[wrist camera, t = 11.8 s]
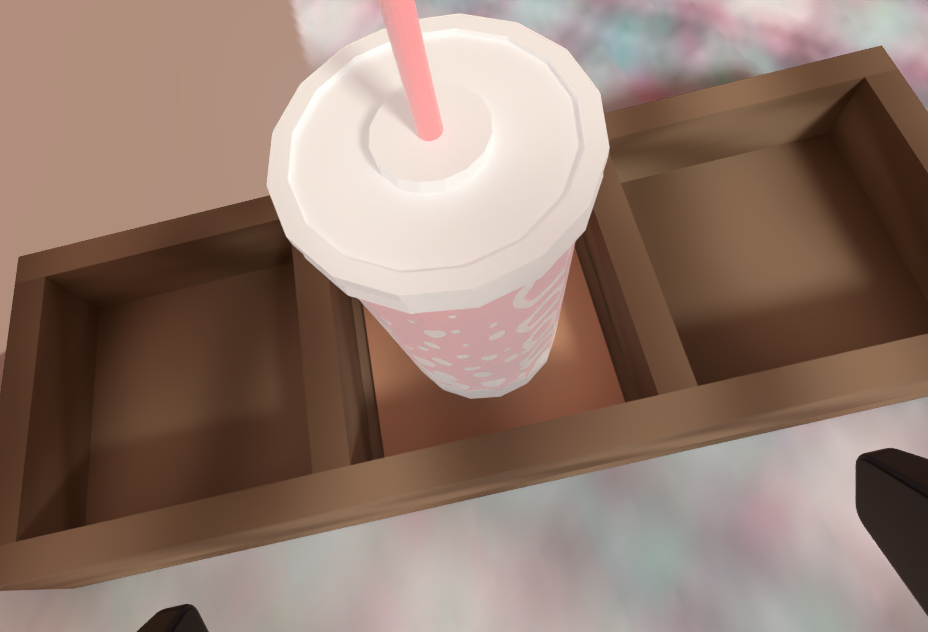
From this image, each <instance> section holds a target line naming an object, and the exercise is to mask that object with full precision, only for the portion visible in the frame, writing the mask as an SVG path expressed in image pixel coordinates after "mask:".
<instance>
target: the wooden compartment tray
mask: <svg viewBox="0 0 928 632" xmlns="http://www.w3.org/2000/svg"><path fill="white" fill-rule="evenodd" d="M604 118H605V123H606V129H607V135H608V141H609V154H608V159H607V162H606V165H605V168H604V171H603V179H602V182H601V185H600V188H599V191H598V194H597V197H596V200H595V203H594V206H593V209H592V212H591V215H590V218H589V221H588V224H587V227H586V230H585V231H584V232H583V233H582V234H581V236H580V237H579V238H578V239H577V240H576V241H575V246H574V250H573V255H572V260H571V264H570V269H569V274H568V278H567V283H566V287H565V292H564V297H563V301H562V306H561V311H560V315H559V320H558V324H557V329H556V334H555V337H554V340H553V343H552V346H551V350H550V353H549V356H548V359H547V362H546V363H545V364H544V365H543V366H542V367H541V369H540V370H539V371H538V372H537V373H536V374H535V375H534V376H533V378H532V379H531V380H530V381H529V382H528V383H527V384H525V385H523V386H521V387H519V388H517V389H515V390H513V391H511V392H509V393H507V394H505V395H503V396H501V397H488V398H474V399H470V398H467V397H464V396H461V395H458V394H455V393H451V392H448V391H445V390H443V389H442V388H440V387H439V386H438V385H437V384H436V383H435V382H434V381H433V380H431V379H430V378H429V377H428V376H427V375H426V374H425V373H423V372H422V371H421V369H420V368H419V367H418V366H417V365H416V364H415V363H414V362H413V360H412V359H411V358H410V357H409V356H408V355H407V354H406V352H405V351H404V350H403V349H402V348H401V347H400V346H399V344H398V343H397V342H396V341H395V340H394V339H393V338H392V336H391V335H390V334H389V333H388V332H387V331H386V330H385V329H384V327H383V326H382V325H381V324H380V323H379V322H378V321H377V319H376V318H375V317H374V316H373V315H372V314H371V313H370V311H369V310H368V309H367V308H366V307H365V306H364V305H363V303H362V302H361V301H360V300H359V299H358V298H355V297H351V296H348V295H347V294H346V293H344V292H343V291H342V290H341V289H340V288H339V287H338V286H336V285H335V284H334V283H333V282H332V281H331V280H330V279H328V278H327V277H326V276H325V275H324V274H323V273H321V272H320V271H319V270H318V269H317V268H316V267H315V266H313V265H312V264H311V263H310V262H309V261H308V260H307V259H305V257H304V255H303V253H301V252H300V251H299V250H298V249H297V248H296V247H295V246H293V245H292V243H291V242H290V241H289V240H288V238H287V237H286V235H285V232H284V230H283V227H282V225H281V222H280V219H279V217H278V214H277V212H276V209H275V207H274V204H273V201H272V199H271V196H265V197H262V198H258V199H253V200H249V201H245V202H241V203H237V204H233V205H229V206H225V207H221V208H217V209H213V210H208V211H204V212H200V213H196V214H192V215H188V216H184V217H180V218H176V219H172V220H168V221H164V222H159V223H156V224H151V225H147V226H143V227H139V228H135V229H131V230H127V231H123V232H119V233H115V234H110V235H106V236H102V237H98V238H94V239H90V240H86V241H82V242H78V243H74V244H70V245H66V246H61V247H57V248H53V249H49V250H45V251H41V252H38V253H33V254H29V255H25V256H21V257H19V259H18V266H17V274H16V281H15V289H14V296H13V304H12V311H11V318H10V326H9V333H8V341H7V348H6V356H5V363H4V370H3V378H2V385H1V393H0V591H7V590H37V589H67V588H77V587H82V586H86V585H90V584H95V583H99V582H104V581H108V580H113V579H117V578H122V577H126V576H130V575H135V574H139V573H144V572H148V571H153V570H157V569H162V568H166V567H171V566H175V565H179V564H184V563H188V562H193V561H197V560H202V559H206V558H211V557H215V556H219V555H224V554H228V553H233V552H237V551H242V550H246V549H251V548H255V547H259V546H264V545H268V544H273V543H277V542H282V541H286V540H291V539H295V538H300V537H304V536H308V535H313V534H317V533H322V532H326V531H331V530H335V529H340V528H344V527H348V526H353V525H357V524H362V523H366V522H371V521H375V520H380V519H384V518H388V517H393V516H397V515H402V514H406V513H411V512H415V511H420V510H424V509H429V508H433V507H437V506H442V505H446V504H451V503H455V502H460V501H464V500H469V499H473V498H477V497H482V496H486V495H491V494H495V493H500V492H504V491H509V490H513V489H517V488H522V487H526V486H531V485H535V484H540V483H544V482H549V481H553V480H558V479H562V478H566V477H571V476H575V475H580V474H584V473H589V472H593V471H598V470H602V469H606V468H611V467H615V466H620V465H624V464H629V463H633V462H638V461H642V460H647V459H651V458H655V457H660V456H664V455H669V454H673V453H678V452H682V451H687V450H691V449H695V448H700V447H704V446H709V445H713V444H718V443H722V442H727V441H731V440H735V439H740V438H744V437H749V436H753V435H758V434H762V433H767V432H771V431H776V430H780V429H784V428H789V427H793V426H798V425H802V424H807V423H811V422H816V421H820V420H824V419H829V418H833V417H838V416H842V415H847V414H851V413H856V412H860V411H864V410H869V409H873V408H878V407H882V406H887V405H891V404H896V403H900V402H905V401H909V400H913V399H918V398H922V397H927V396H928V112H927V110H926V109H925V107H924V106H923V104H922V103H921V102H920V100H919V99H918V97H917V96H916V94H915V93H914V91H913V90H912V88H911V87H910V86H909V84H908V83H907V81H906V80H905V78H904V77H903V75H902V74H901V73H900V71H899V70H898V68H897V67H896V65H895V64H894V62H893V61H892V60H891V58H890V57H889V55H888V54H887V52H886V51H885V49H884V48H883V47H882V46H878V47H874V48H869V49H865V50H861V51H857V52H853V53H849V54H845V55H841V56H837V57H833V58H829V59H825V60H820V61H816V62H812V63H808V64H804V65H800V66H796V67H792V68H788V69H784V70H780V71H776V72H772V73H767V74H763V75H759V76H755V77H751V78H747V79H743V80H739V81H735V82H731V83H727V84H723V85H718V86H714V87H710V88H706V89H702V90H698V91H694V92H690V93H686V94H682V95H678V96H674V97H669V98H665V99H661V100H657V101H653V102H649V103H645V104H641V105H637V106H633V107H629V108H625V109H621V110H616V111H612V112H608V113H604Z"/></svg>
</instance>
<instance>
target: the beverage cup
mask: <svg viewBox="0 0 928 632" xmlns="http://www.w3.org/2000/svg"><path fill="white" fill-rule="evenodd" d="M378 3H379V6H380V10H381V13H382V17H383V20H384V23H385V27H386V28H384V29H382V30H380V31H377V32H375V33H373V34H370V35H368V36H366V37H364V38H361V39H359V40H357V41H355V42H352V43H350V44H348V45H345V46H344V47H343V48H342V49H340V50H339V51H338V52H337V53H336V54H335V55H333V56H332V57H331V58H330V59H329V60H328V61H326V62H325V63H324V64H323V65H322V66H321V67H319V68H318V69H317V70H316V71H315V72H313V73H312V74H311V75H310V76H309V77H308V78H307V79H305V80H304V81H303V82H302V83H301V84H300V85H299V87H298V89H297V90H296V92H295V94H294V95H293V97H292V99H291V101H290V103H289V104H288V106H287V108H286V109H285V111H284V113H283V114H282V116H281V118H280V120H279V122H278V123H277V125H276V127H275V128H274V130H273V132H272V139H271V148H270V157H269V166H268V175H267V184H266V186H267V188H268V191H269V194H270V196H271V199H272V201H273V204H274V207H275V209H276V212H277V214H278V217H279V219H280V222H281V225H282V227H283V230H284V232H285V235H286V237H287V238H288V240H289V241H290V242H291V243H292V245H293V246H295V247H296V248H297V249H298V250H299V251H300V252H301V253H303V255H304V257H305V259H307V260H308V261H309V262H310V263H311V264H312V265H313V266H315V267H316V268H317V269H318V270H319V271H320V272H321V273H323V274H324V275H325V276H326V277H327V278H328V279H330V280H331V281H332V282H333V283H334V284H335V285H336V286H338V287H339V288H340V289H341V290H342V291H343V292H344V293H346V294H347V295H348V296H351V297H355V298H358V299H359V300H360V301H361V302H362V303H363V305H364V306H365V307H366V308H367V309H368V310H369V311H370V313H371V314H372V315H373V316H374V317H375V318H376V319H377V321H378V322H379V323H380V324H381V325H382V326H383V327H384V329H385V330H386V331H387V332H388V333H389V334H390V335H391V336H392V338H393V339H394V340H395V341H396V342H397V343H398V344H399V346H400V347H401V348H402V349H403V350H404V351H405V352H406V354H407V355H408V356H409V357H410V358H411V359H412V360H413V362H414V363H415V364H416V365H417V366H418V367H419V368H420V369H421V371H422V372H423V373H425V374H426V375H427V376H428V377H429V378H430V379H431V380H433V381H434V382H435V383H436V384H437V385H438V386H439V387H440V388H442V389H443V390H445V391H448V392H451V393H455V394H458V395H461V396H464V397H467V398H470V399H474V398H488V397H501V396H503V395H505V394H507V393H509V392H511V391H513V390H515V389H517V388H519V387H521V386H523V385H525V384H527V383H528V382H529V381H530V380H531V379H532V378H533V376H534V375H535V374H536V373H537V372H538V371H539V370H540V369H541V367H542V366H543V365H544V364H545V363H546V362H547V359H548V356H549V353H550V350H551V346H552V343H553V340H554V337H555V334H556V329H557V324H558V320H559V315H560V311H561V306H562V301H563V297H564V292H565V287H566V283H567V278H568V274H569V269H570V264H571V260H572V255H573V250H574V246H575V241H576V240H577V239H578V238H579V237H580V236H581V234H582V233H583V232H584V231H585V230H586V227H587V224H588V221H589V218H590V215H591V212H592V209H593V206H594V203H595V200H596V197H597V194H598V191H599V188H600V185H601V182H602V179H603V171H604V168H605V165H606V162H607V159H608V154H609V141H608V135H607V129H606V123H605V118H604V112H603V106H602V100H601V94H600V92H599V90H598V89H597V88H596V86H595V85H594V84H593V82H592V81H591V80H590V79H589V77H588V76H587V75H586V73H585V72H584V71H583V69H582V68H581V67H580V66H579V64H578V63H577V62H576V60H575V59H574V58H573V57H572V55H571V54H570V53H569V51H568V50H567V49H565V48H563V47H562V46H560V45H558V44H556V43H554V42H552V41H551V40H549V39H547V38H545V37H543V36H541V35H539V34H538V33H536V32H534V31H532V30H530V29H528V28H527V27H525V26H523V25H521V24H519V23H517V22H510V21H504V20H498V19H492V18H485V17H479V16H473V15H466V14H460V13H459V14H452V15H444V16H437V17H430V18H423V19H418V14H417V10H416V6H415V1H414V0H378Z"/></svg>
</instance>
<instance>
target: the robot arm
mask: <svg viewBox="0 0 928 632" xmlns="http://www.w3.org/2000/svg"><path fill="white" fill-rule="evenodd" d="M856 509H857V513H858V516H859V518H860V520H861V522H862V524H863V525H864V527H865V528H866V530H867V531H868V532H869V534H870V535H871V537H872V538H873V539H874V541H875V542H876V544H877V545H878V547H879V548H880V549H881V551H882V552H883V554H884V555H885V556H886V558H887V559H888V561H889V562H890V563H891V565H892V566H893V568H894V569H895V571H896V572H897V573H898V575H899V576H900V578H901V579H902V580H903V582H904V583H905V585H906V586H907V588H908V589H909V590H910V592H911V593H912V595H913V596H914V597H915V599H916V600H917V602H918V603H919V605H920V606H921V607H922V609H923V610H924V612H925V613H926V614H927V616H928V459H926V458H923V457H920V456H917V455H914V454H911V453H908V452H904V451H901V450H898V449H894V448H886V449H881V450H877V451H872V452H868V453H864V454H862V455H860V456H859V457H858V459H857V461H856ZM137 632H209V631H208V629H207V627H206V626H205V624H204V622H203V620H202V618H201V616H200V614H199V612H198V610H197V609H196V608H195V607H194V606H193V605H190V604H184V605H180V606H175V607H171V608H166V609H163V610H161V611H159V612H158V613H156V614H155V615H154V616H153V617H152V618H151V619H150V620H149V621H148V622H147V623H145V624H144V625H143V626H142V627H141V628H140V629H139V630H138V631H137Z"/></svg>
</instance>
